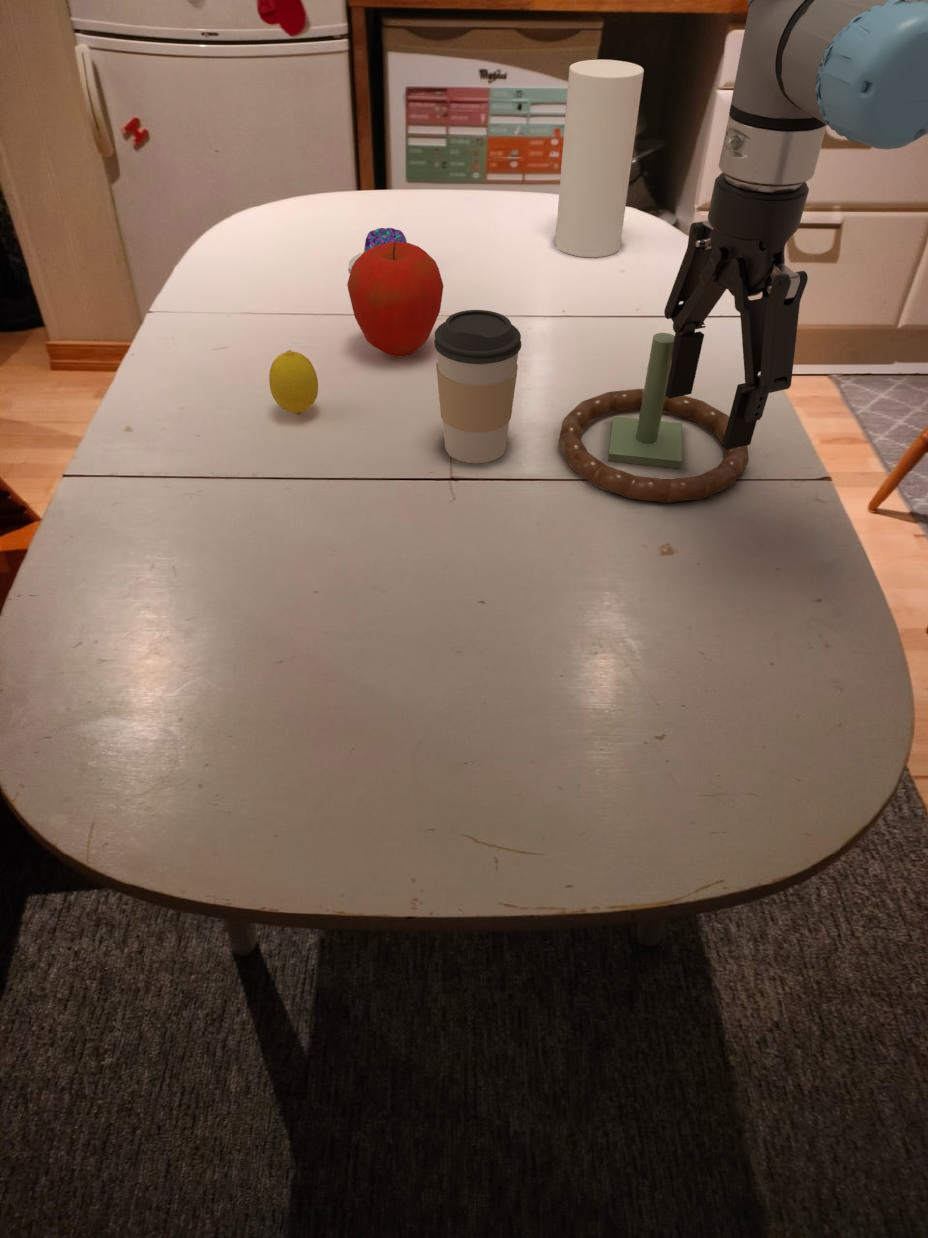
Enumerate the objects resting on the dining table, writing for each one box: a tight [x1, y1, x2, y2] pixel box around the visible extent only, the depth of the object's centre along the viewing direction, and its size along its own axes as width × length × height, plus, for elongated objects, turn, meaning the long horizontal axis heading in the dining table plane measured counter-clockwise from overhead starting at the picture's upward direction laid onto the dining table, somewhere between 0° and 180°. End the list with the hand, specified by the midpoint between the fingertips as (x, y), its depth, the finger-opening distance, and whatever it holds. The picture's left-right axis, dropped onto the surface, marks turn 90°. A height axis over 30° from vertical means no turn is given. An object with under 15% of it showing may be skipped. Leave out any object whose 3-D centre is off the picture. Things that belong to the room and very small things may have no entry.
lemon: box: [268, 349, 319, 415], centre depth 98 cm, size 6×6×8 cm
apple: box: [346, 242, 444, 358], centre depth 108 cm, size 12×12×14 cm
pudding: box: [347, 227, 408, 271], centre depth 130 cm, size 12×12×5 cm
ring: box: [558, 388, 750, 504], centre depth 95 cm, size 21×21×2 cm
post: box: [607, 332, 683, 470], centre depth 92 cm, size 8×8×13 cm
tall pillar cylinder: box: [554, 59, 645, 258], centre depth 131 cm, size 11×11×25 cm
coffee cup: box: [433, 309, 522, 464], centre depth 91 cm, size 9×9×15 cm
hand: (705, 418), depth 85 cm, fingers open, 10 cm apart
